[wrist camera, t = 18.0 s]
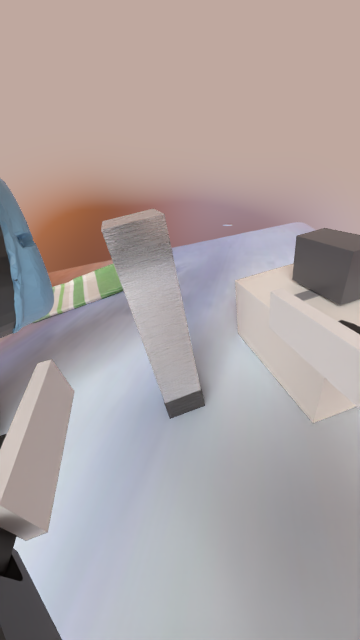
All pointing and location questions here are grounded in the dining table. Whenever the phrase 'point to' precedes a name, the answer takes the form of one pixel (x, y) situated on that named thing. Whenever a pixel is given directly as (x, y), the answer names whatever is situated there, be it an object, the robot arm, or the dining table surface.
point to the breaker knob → (329, 264)
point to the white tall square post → (156, 304)
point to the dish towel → (85, 290)
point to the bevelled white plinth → (278, 355)
